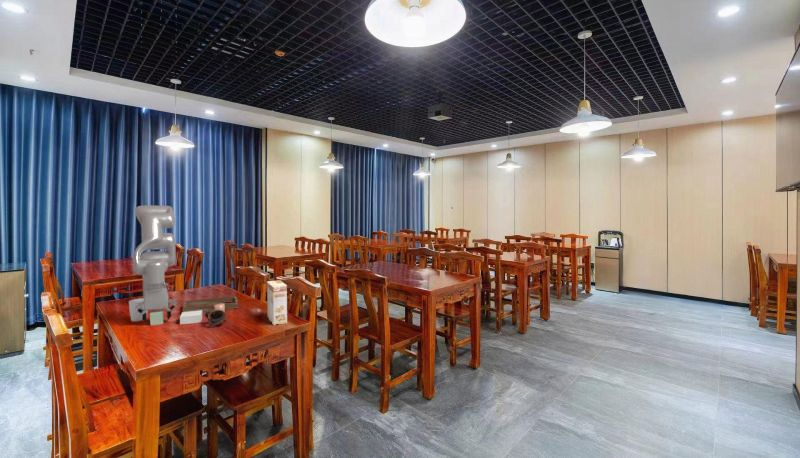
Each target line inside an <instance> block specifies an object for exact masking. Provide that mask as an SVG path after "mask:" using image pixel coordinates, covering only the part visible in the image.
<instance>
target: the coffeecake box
mask: <svg viewBox="0 0 800 458" xmlns="http://www.w3.org/2000/svg"><path fill="white" fill-rule="evenodd" d="M266 285H267V286H266V287H267V288H266V289H267V292H266V293H267V294H266V295H267V296H266V297H267V302H266V303H267V305H266V306H267V319H268V318H269V319H268V320H269V321H270V322H272V323H271V324H272V325H273V326H277V325H276V324H279V325H284V324H285V323H286V324H288V295H287V294H288V288H287V287H288V285H287V284H286V283H284V282H283V281H282V280H280V279H279V280H278V279H277V280H269V281H266Z"/></svg>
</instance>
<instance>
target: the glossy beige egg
mask: <svg viewBox="0 0 800 458" xmlns="http://www.w3.org/2000/svg"><path fill="white" fill-rule="evenodd" d="M225 304H226V303H219V304H213V305H214V310H222V311H224V312H225V313H226V310H225Z"/></svg>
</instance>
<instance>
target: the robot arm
mask: <svg viewBox="0 0 800 458" xmlns="http://www.w3.org/2000/svg"><path fill="white" fill-rule="evenodd" d="M134 210H135V216H136V219H137V220H138V222H139V224H140V227H141V243H140V244H138V245H137V247H136V248H135V250H134V253H133V259H132V260H133V263H132V264H133V272H134V274H135V275H137V276H142V297H143V298H144V301H143V302H141V303H139V304H138V305H136V306H135V308H136V309H137V310H138V312H140V313H141V314H142V319H143V320H142V321H143V323H146V322H147V321H148V311H155V310H166V311H167V312H166V318H167V320H170V318H171V317H172V310H174V308H175V307H176V305H177V303H178V301H176V300H174V299H172V298H171V299H170V297H169V291H168V288H167V287H169V282H166V281H165V277H166V275H165V272H167V270H168V268H169V267H173V266H174V265H176V263H177V255H176V254H177V253H176V238H175V237H176V236H175V235H174V234H173V233H171V232H163V229H172V228H174V227H175V224H176V223H175V222H176V220H175V212H174V208H172V206H169V205H152V204H151V205H149V204H148V205H138V206H136V207H135V209H134ZM146 250H149V251H146ZM151 250H152V251H151ZM155 250H156V251H155ZM160 250H161V251H160ZM145 251H146V252H145ZM170 303H171V304H172V305H171V306H169V305H170ZM142 305H144V310H142V309H141V308H140V306H142ZM146 311H147V313H146Z"/></svg>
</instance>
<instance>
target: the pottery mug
mask: <svg viewBox="0 0 800 458" xmlns="http://www.w3.org/2000/svg"><path fill="white" fill-rule="evenodd" d="M204 316H205V318H207V322H208V324H207V325H208V327H209V328H212V327H213V326H217V325H220V324H222V323H223V322H225V323H226V322H227V316H228V315H227V313H226V311H225V312H224V311H222V310H214V311H212V312H205V314H204Z"/></svg>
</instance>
